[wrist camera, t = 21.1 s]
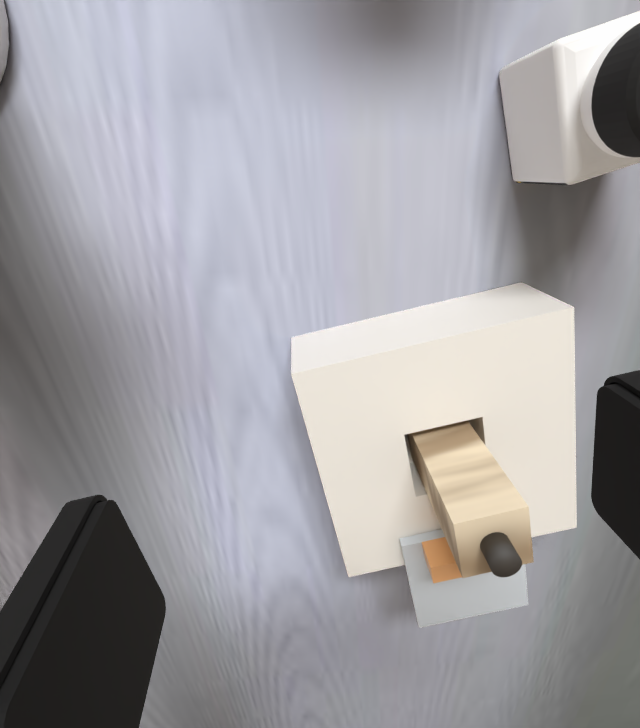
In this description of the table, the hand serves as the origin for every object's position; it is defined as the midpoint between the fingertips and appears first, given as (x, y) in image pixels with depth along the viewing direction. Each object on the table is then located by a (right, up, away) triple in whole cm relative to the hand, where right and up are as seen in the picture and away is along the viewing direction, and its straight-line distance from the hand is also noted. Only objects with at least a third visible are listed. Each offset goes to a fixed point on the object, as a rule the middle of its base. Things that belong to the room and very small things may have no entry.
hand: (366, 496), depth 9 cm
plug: (+8, -2, +27) cm, 28 cm away
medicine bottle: (+15, +19, +22) cm, 33 cm away
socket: (+8, -1, +30) cm, 31 cm away
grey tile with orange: (+10, -14, +27) cm, 32 cm away
